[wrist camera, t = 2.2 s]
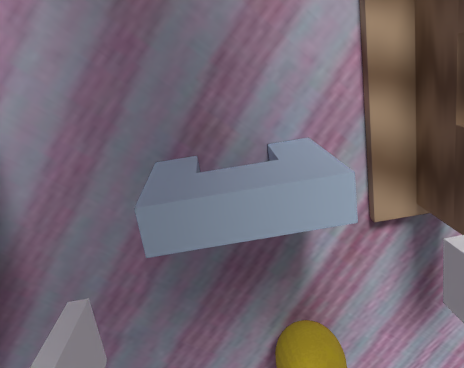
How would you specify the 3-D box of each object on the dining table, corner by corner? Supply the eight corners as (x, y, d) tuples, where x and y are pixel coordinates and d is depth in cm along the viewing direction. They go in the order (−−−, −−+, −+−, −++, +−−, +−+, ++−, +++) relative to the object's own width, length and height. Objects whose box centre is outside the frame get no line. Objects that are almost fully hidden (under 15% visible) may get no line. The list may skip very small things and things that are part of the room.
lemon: (256, 334, 36) (270, 407, 29) (296, 291, 35) (322, 355, 28) (301, 363, 37) (326, 441, 30) (341, 323, 36) (377, 392, 29)
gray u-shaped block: (163, 198, 32) (146, 258, 22) (155, 162, 31) (134, 208, 21) (311, 174, 32) (357, 222, 22) (308, 137, 31) (354, 171, 22)
